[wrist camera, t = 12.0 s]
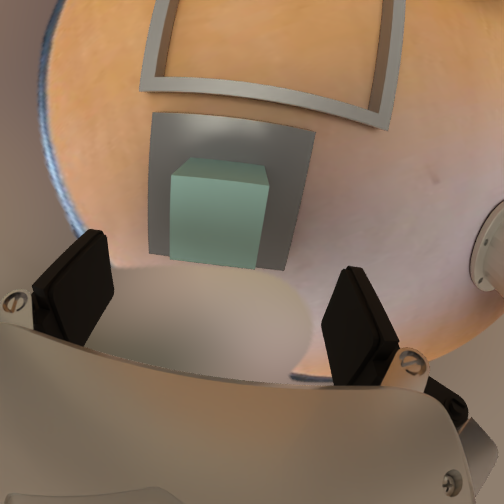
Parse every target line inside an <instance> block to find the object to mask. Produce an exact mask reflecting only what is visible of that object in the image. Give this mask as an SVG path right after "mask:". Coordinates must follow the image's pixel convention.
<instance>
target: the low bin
mask: <svg viewBox="0 0 504 504" xmlns="http://www.w3.org/2000/svg"><path fill="white" fill-rule="evenodd" d="M178 2H179V0H156V2H155V6H154V10H153V14H152V19H151V23H150V27H149V32H148V37H147V42H146V47H145V53H144V59H143V65H142V71H141V78H140V86H139V91H140V92H170V93H195V94H210V95H221V96H231V97H240V98H247V99H255V100H261V101H268V102H274V103H279V104H285V105H290V106H295V107H300V108H304V109H309V110H313V111H317V112H322V113H326V114H330V115H333V116H337V117H341V118H345V119H348V120H351V121H355V122H358V123H361V124H365V125H368V126H371V127H374V128H377V129H382V130H386V131H388V129H389V124H390V120H391V115H392V110H393V104H394V99H395V93H396V87H397V81H398V75H399V68H400V60H401V52H402V43H403V33H404V21H405V2H406V0H383V8H382V19H381V29H380V37H379V46H378V53H377V60H376V67H375V73H374V79H373V85H372V91H371V96H370V102H369V107H368V110H366V109H363V108H360V107H357V106H354V105H351V104H347V103H344V102H340V101H337V100H333V99H329V98H326V97H322V96H318V95H314V94H309V93H305V92H300V91H296V90H291V89H286V88H280V87H275V86H269V85H263V84H256V83H249V82H241V81H232V80H222V79H209V78H191V77H164V72H165V66H166V60H167V54H168V48H169V43H170V38H171V33H172V28H173V23H174V19H175V15H176V10H177V6H178Z"/></svg>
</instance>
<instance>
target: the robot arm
mask: <svg viewBox="0 0 504 504" xmlns="http://www.w3.org/2000/svg"><path fill="white" fill-rule="evenodd" d="M470 272H471V278H472V281H473V282H474V284H475V285H476V286H477V287H478V288H479V289H480V290H482V291H492V290H494V289H496V290H497V291H498V293H499V294H500V295H501V296H502V297H503V298H504V201H503V202H502V203H501V204H499V205H498V206H497V207H496V208H495V209H494V211H493V212H492V213H491V214H490V216H489V217H488V219H487V220H486V222H485V223H484V225H483V227H482V229H481V231H480V233H479V235H478V238H477V240H476V243H475V246H474V249H473V253H472V257H471V265H470ZM32 288H33V291H34V292H33V293H32V294H30V293H29V292H28V291H27V290H24V289H18V290H14V291H12V292H10V293H8V294H7V295H5V297H3V299H2V300H1V302H0V504H476V501H475V497H476V495H477V494H478V492H479V491H480V489H481V488H482V486H483V484H484V483H485V481H486V479H487V478H488V476H489V474H490V472H491V471H492V469H493V467H494V465H495V463H496V461H497V458H498V449H497V446H496V444H495V443H494V442H493V440H492V439H491V438H490V437H489V436H488V435H487V433H486V432H485V431H484V430H483V429H482V428H481V427H480V426H479V424H478V423H477V422H476V421H475V420H474V419H473V418H472V417H471V418H470V419H468V408H467V405H466V403H465V401H464V400H463V399H462V398H461V397H460V396H459V395H457V394H456V393H454V392H453V391H451V390H450V389H448V388H446V387H445V386H443V385H442V384H440V383H439V382H437V381H436V380H434V379H433V378H431V377H430V376H429V373H430V366H429V362H428V361H427V359H426V357H425V356H424V355H423V354H422V353H420V352H419V351H418V350H415V349H413V348H409V347H405V348H401V349H400V347H399V345H398V343H399V339H398V337H397V335H396V333H395V331H394V328H393V326H392V324H391V322H390V320H389V318H388V316H387V314H386V312H385V310H384V308H383V306H382V304H381V302H380V300H379V298H378V296H377V294H376V292H375V291H374V289H373V287H372V285H371V283H370V281H369V279H368V277H367V276H366V274H365V272H364V270H363V269H362V268H360V267H353V266H348V267H347V268H346V269H343V270H342V271H341V273H340V276H339V279H338V281H337V284H336V286H335V289H334V292H333V294H332V297H331V299H330V302H329V304H328V307H327V309H326V312H325V314H324V316H323V319H322V323H321V328H322V333H323V337H324V341H325V346H326V350H327V355H328V359H329V364H330V369H331V374H332V378H333V383H334V386H324V385H322V386H321V385H295V384H278V383H265V382H254V381H245V380H236V379H228V378H220V377H213V376H206V375H200V374H194V373H188V372H183V371H177V370H172V369H167V368H162V367H157V366H152V365H148V364H144V363H140V362H136V361H132V360H128V359H124V358H120V357H116V356H113V355H109V354H105V353H102V352H99V351H95V350H92V349H89V348H85V347H84V345H85V343H86V341H87V340H88V338H89V336H90V334H91V332H92V331H93V329H94V327H95V325H96V324H97V322H98V320H99V319H100V317H101V315H102V314H103V312H104V310H105V309H106V307H107V305H108V304H109V302H110V300H111V299H112V297H113V295H114V285H113V279H112V273H111V266H110V259H109V251H108V243H107V237H106V235H104V233H103V232H102V231H101V230H94V229H89V230H87V231H86V232H85V233H84V234H83V235H82V236H81V237H80V238H78V239H77V240H76V241H75V242H74V243H73V244H72V245H71V246H70V247H69V248H68V249H67V250H66V251H65V252H64V253H63V254H62V255H61V256H60V257H59V258H58V259H57V260H56V261H55V262H54V263H53V264H52V265H51V266H50V267H49V268H48V269H47V270H46V271H45V272H44V273H43V274H42V275H41V276H40V277H39V278H38V279H37V281H36V282H35V283H34V284H33V285H32Z"/></svg>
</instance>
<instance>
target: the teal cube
mask: <svg viewBox="0 0 504 504" xmlns="http://www.w3.org/2000/svg"><path fill="white" fill-rule="evenodd" d="M268 192H269V182H268V178H267V174H266V170H265V166H262V165H255V164H248V163H240V162H231V161H222V160H212V159H202V158H190V159H189V160H187V161H186V162H185V163H184V164H183V165H182V166H181V167H180V168H178V169H177V170H176V171H175V172H174V173H173V174H172V175H171V192H170V259H172V260H180V261H188V262H196V263H204V264H212V265H221V266H229V267H238V268H247V269H255V267H256V261H257V255H258V250H259V244H260V238H261V232H262V226H263V221H264V215H265V209H266V203H267V197H268Z"/></svg>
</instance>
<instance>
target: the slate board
mask: <svg viewBox="0 0 504 504" xmlns="http://www.w3.org/2000/svg"><path fill="white" fill-rule="evenodd" d="M315 134H316V132H314V131H312V130H308V129H303V128H298V127H293V126H288V125H282V124H277V123H271V122H265V121H258V120H252V119H244V118H236V117H228V116H219V115H208V114H195V113H178V112H153V114H152V125H151V137H150V152H149V174H148V242H149V254H156V255H164V256H170V192H171V175H172V174H173V173H174V172H175V171H176V170H177V169H178V168H180V167H181V166H182V165H183V164H184V163H185V162H186V161H187V160H189V159H190V158H202V159H212V160H222V161H231V162H240V163H248V164H255V165H262V166H265V170H266V174H267V178H268V182H269V192H268V197H267V203H266V209H265V215H264V221H263V226H262V232H261V238H260V244H259V250H258V255H257V261H256V267H257V268H265V269H273V270H282V271H284V270H285V266H286V262H287V258H288V254H289V250H290V246H291V242H292V237H293V233H294V229H295V225H296V221H297V216H298V212H299V208H300V204H301V199H302V195H303V190H304V186H305V181H306V177H307V172H308V168H309V163H310V158H311V153H312V149H313V144H314V139H315Z"/></svg>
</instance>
